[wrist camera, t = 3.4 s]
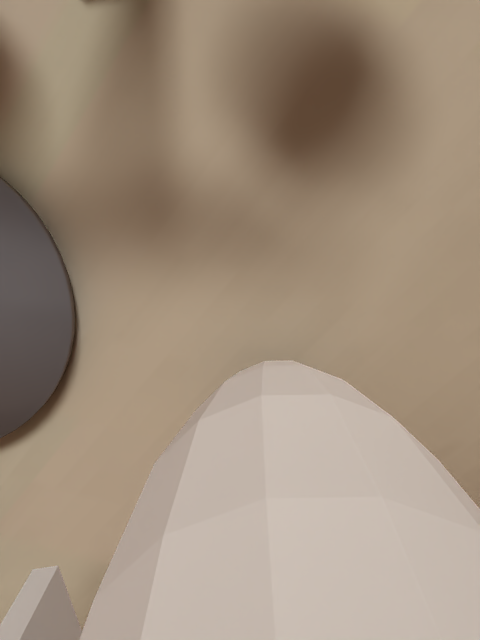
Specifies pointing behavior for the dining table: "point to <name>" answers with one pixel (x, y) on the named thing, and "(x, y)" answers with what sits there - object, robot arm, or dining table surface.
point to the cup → (294, 525)
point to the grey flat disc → (30, 312)
